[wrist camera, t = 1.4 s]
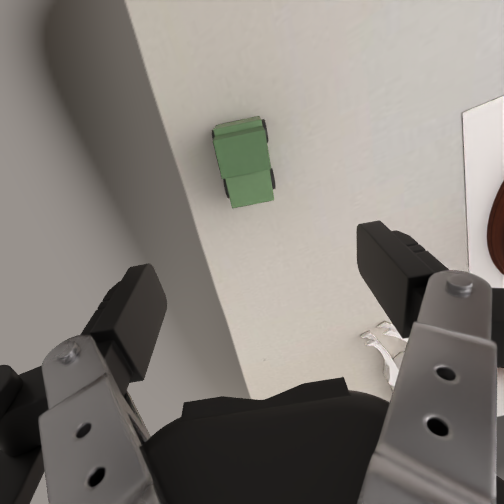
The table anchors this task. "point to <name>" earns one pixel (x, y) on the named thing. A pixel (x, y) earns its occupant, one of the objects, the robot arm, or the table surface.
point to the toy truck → (244, 161)
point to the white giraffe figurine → (387, 353)
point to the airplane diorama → (485, 190)
